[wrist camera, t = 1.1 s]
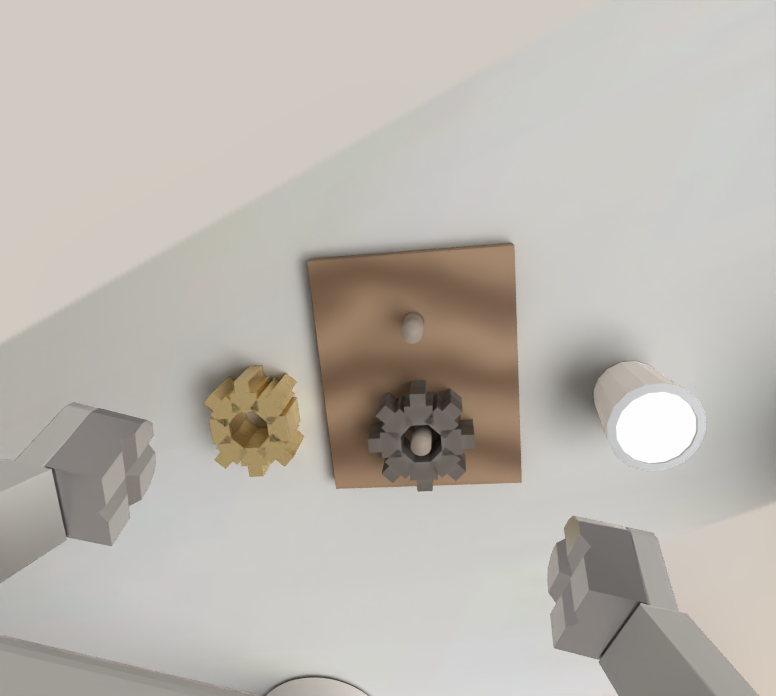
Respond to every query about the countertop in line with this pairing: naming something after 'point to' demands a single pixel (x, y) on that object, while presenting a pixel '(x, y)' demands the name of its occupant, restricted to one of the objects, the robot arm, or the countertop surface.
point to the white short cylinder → (648, 416)
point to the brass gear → (243, 436)
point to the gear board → (420, 366)
